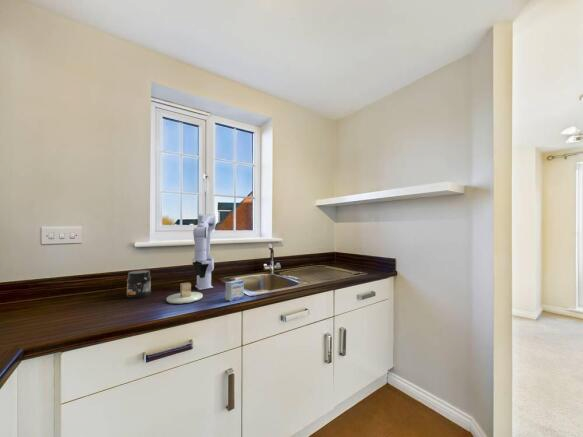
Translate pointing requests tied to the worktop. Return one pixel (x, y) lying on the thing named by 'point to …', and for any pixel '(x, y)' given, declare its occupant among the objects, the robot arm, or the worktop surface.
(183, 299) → the sage dish
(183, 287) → the tan rectangular block
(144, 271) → the supplement container
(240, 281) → the medicine box
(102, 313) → the worktop surface
